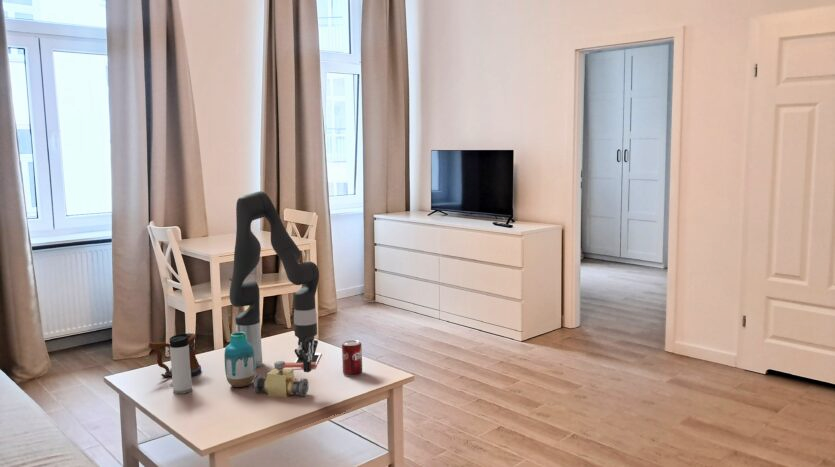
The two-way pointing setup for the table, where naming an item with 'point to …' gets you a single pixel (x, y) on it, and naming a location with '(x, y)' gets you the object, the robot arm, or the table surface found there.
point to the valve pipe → (280, 383)
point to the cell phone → (314, 359)
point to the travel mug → (180, 363)
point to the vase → (239, 360)
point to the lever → (291, 365)
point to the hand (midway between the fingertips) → (307, 371)
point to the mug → (193, 361)
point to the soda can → (352, 358)
